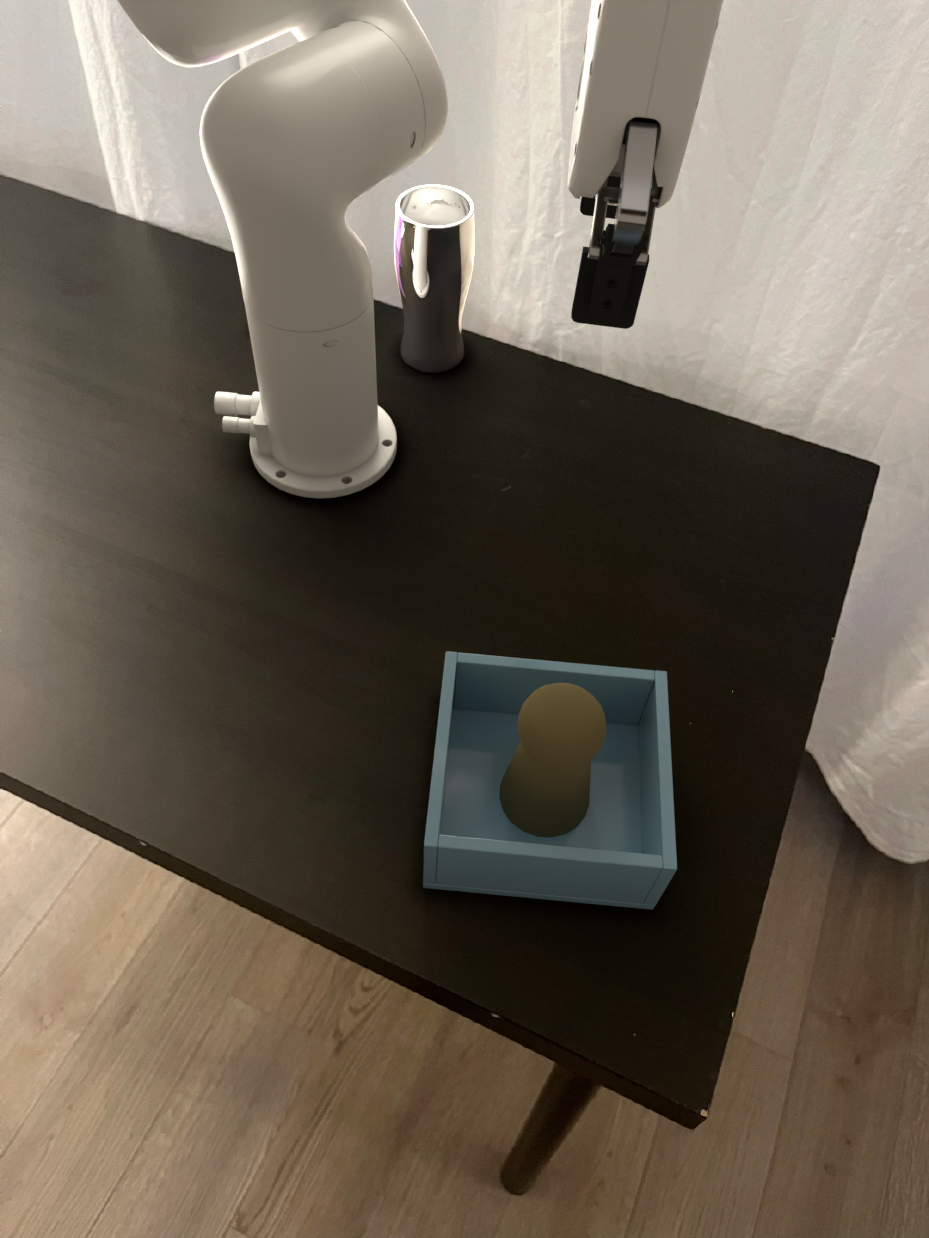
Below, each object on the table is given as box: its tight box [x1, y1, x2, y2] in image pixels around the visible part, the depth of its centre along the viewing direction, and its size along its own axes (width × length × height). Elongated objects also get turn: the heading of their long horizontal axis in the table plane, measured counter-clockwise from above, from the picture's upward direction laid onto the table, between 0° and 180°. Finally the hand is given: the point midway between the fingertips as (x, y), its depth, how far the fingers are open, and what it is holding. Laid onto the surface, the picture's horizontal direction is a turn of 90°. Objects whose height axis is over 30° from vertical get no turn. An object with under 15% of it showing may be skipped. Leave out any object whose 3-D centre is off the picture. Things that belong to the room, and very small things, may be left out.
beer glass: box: [393, 184, 476, 374], centre depth 85 cm, size 7×7×15 cm
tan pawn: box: [499, 683, 606, 838], centre depth 59 cm, size 6×6×11 cm
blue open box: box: [422, 650, 678, 911], centre depth 61 cm, size 15×14×7 cm
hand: (604, 266), depth 52 cm, fingers open, 9 cm apart
